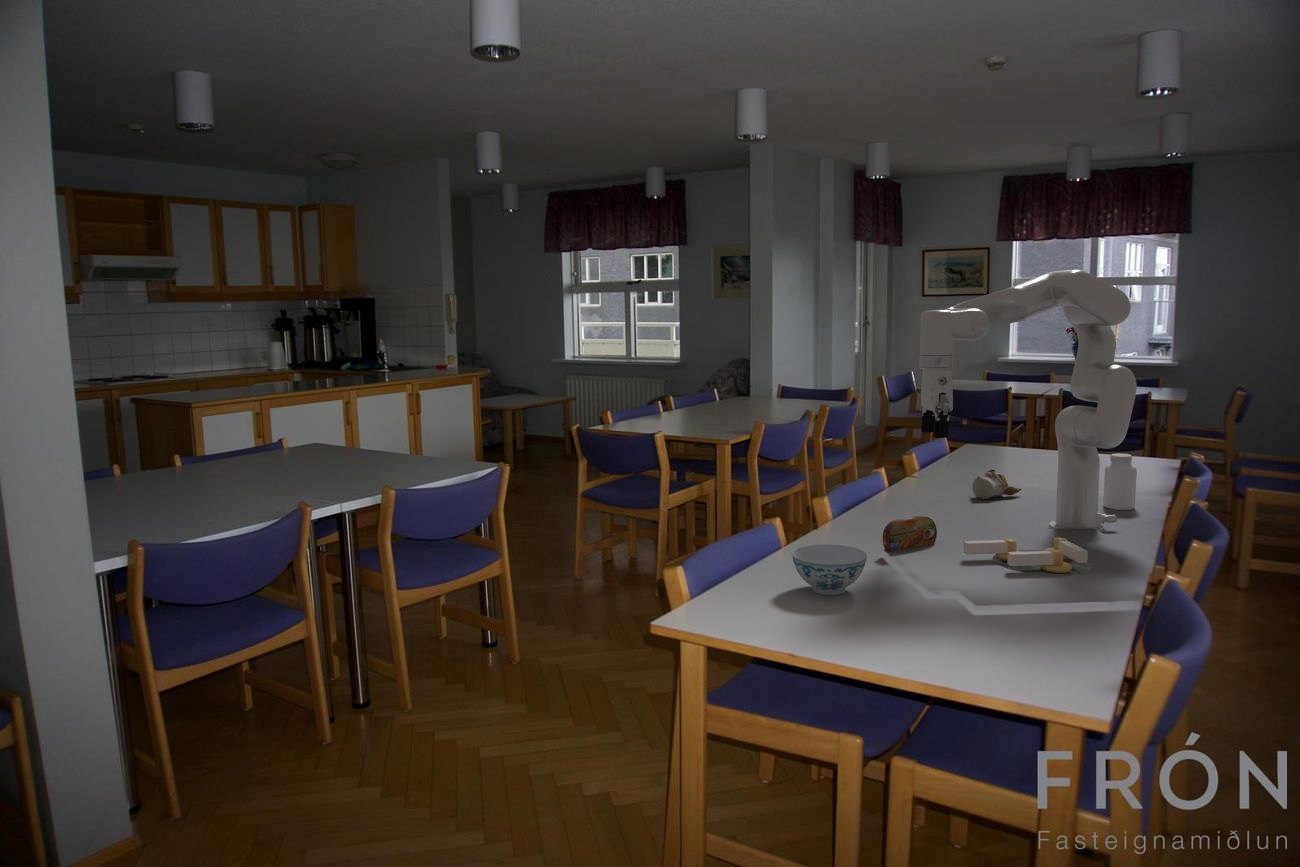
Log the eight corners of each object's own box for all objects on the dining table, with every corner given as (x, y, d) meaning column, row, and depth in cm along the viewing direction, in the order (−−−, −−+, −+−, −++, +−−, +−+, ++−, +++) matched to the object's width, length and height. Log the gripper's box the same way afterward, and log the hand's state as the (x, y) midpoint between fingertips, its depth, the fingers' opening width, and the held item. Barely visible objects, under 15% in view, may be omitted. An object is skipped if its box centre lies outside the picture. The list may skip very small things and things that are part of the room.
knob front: (1063, 564, 192) (1063, 547, 191) (1077, 572, 186) (1077, 554, 185) (1003, 566, 191) (1003, 549, 191) (1015, 574, 185) (1015, 556, 185)
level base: (1064, 554, 205) (1064, 541, 205) (1111, 580, 186) (1111, 565, 185) (977, 557, 205) (978, 543, 204) (1016, 583, 185) (1016, 568, 185)
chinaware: (851, 606, 174) (852, 567, 173) (780, 594, 182) (780, 557, 181) (876, 585, 186) (876, 549, 185) (808, 575, 194) (808, 540, 193)
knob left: (1017, 553, 201) (1017, 536, 201) (1029, 560, 195) (1029, 543, 195) (959, 555, 201) (960, 538, 200) (970, 562, 195) (970, 545, 194)
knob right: (1040, 552, 201) (1040, 535, 201) (1066, 551, 201) (1067, 535, 201) (1068, 568, 188) (1069, 551, 188) (1096, 567, 188) (1097, 550, 188)
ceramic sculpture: (963, 468, 268) (993, 465, 277) (961, 496, 269) (991, 493, 278) (994, 473, 260) (1024, 470, 268) (992, 502, 260) (1022, 499, 269)
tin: (889, 559, 206) (889, 523, 204) (879, 555, 208) (880, 520, 207) (937, 549, 212) (938, 515, 211) (927, 546, 215) (928, 512, 214)
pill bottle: (1104, 509, 249) (1106, 456, 247) (1101, 503, 256) (1104, 452, 254) (1136, 511, 246) (1139, 457, 244) (1133, 505, 253) (1135, 453, 251)
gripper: (964, 364, 202) (962, 439, 204) (940, 360, 219) (938, 430, 221) (931, 365, 202) (929, 440, 204) (909, 361, 219) (908, 430, 221)
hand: (934, 434), depth 212 cm, fingers open, 9 cm apart
